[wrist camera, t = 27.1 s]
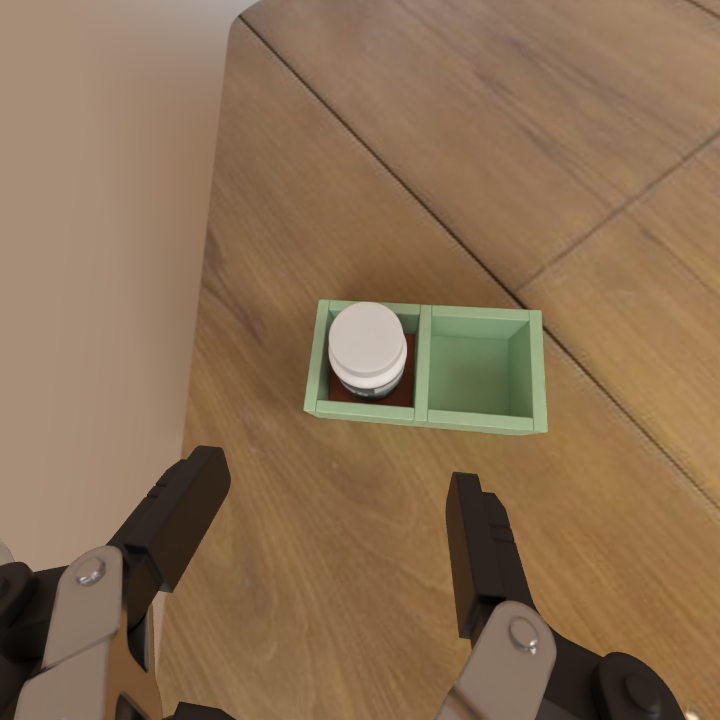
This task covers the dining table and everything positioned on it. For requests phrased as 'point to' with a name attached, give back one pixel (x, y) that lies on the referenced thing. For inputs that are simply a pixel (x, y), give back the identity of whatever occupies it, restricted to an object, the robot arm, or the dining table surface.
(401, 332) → the pill bottle
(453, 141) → the dining table surface
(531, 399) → the holder
